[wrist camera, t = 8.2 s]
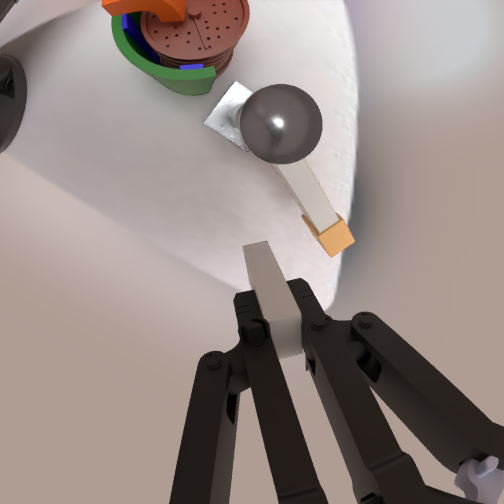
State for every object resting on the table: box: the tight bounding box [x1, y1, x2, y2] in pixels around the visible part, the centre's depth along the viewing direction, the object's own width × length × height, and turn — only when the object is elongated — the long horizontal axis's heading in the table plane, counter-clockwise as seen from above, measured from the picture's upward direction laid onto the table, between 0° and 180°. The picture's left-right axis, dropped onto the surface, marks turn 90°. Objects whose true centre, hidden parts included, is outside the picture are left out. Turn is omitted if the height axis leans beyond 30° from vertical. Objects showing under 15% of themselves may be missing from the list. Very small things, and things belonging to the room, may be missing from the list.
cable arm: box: [271, 158, 355, 258], centre depth 23 cm, size 3×10×5 cm, turn 34°
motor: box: [101, 0, 250, 95], centre depth 16 cm, size 10×9×20 cm
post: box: [204, 81, 322, 165], centre depth 21 cm, size 6×6×18 cm
